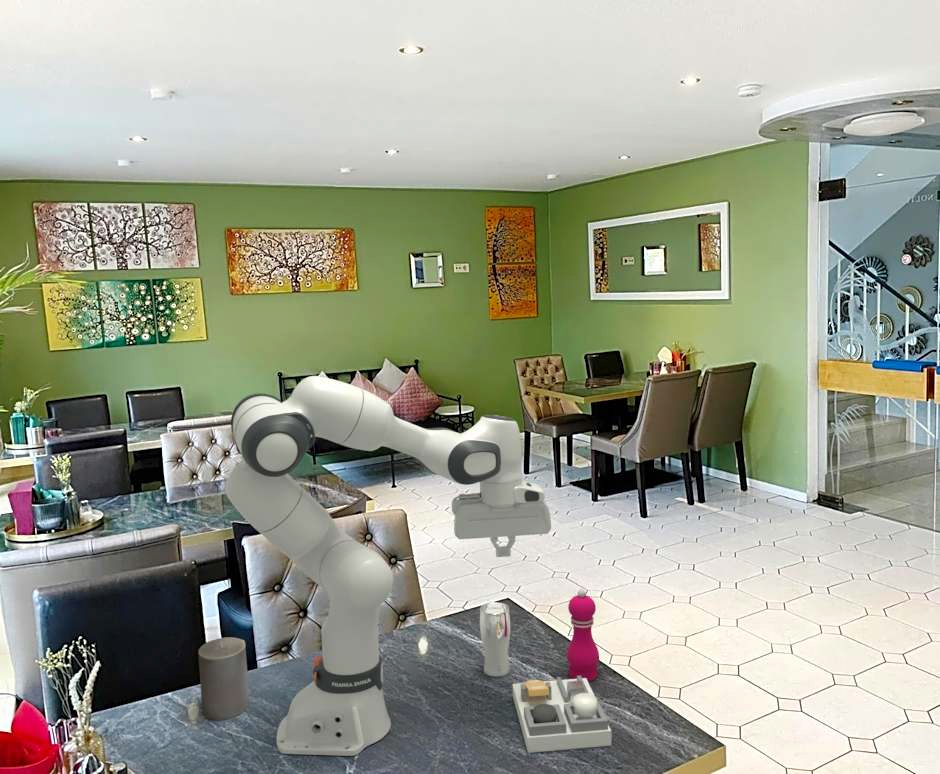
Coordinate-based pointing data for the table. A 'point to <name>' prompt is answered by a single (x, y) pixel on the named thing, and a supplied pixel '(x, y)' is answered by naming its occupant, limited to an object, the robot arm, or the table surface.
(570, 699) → the metal slider knob
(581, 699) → the white button
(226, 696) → the pillar candle
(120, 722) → the table surface
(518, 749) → the table surface
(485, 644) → the beer glass
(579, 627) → the pepper mill
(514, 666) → the table surface
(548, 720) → the black button
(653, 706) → the table surface
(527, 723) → the console
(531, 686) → the amber rocker
